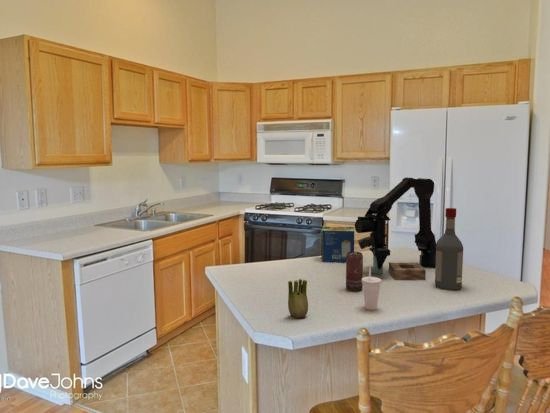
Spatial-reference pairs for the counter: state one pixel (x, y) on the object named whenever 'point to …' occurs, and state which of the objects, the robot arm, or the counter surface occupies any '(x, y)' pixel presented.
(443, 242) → the liquor
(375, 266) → the pin
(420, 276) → the socket block
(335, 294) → the counter surface
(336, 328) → the counter surface
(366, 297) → the smoothie
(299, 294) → the fennel bulb
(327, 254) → the protein box
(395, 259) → the counter surface
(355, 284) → the can
